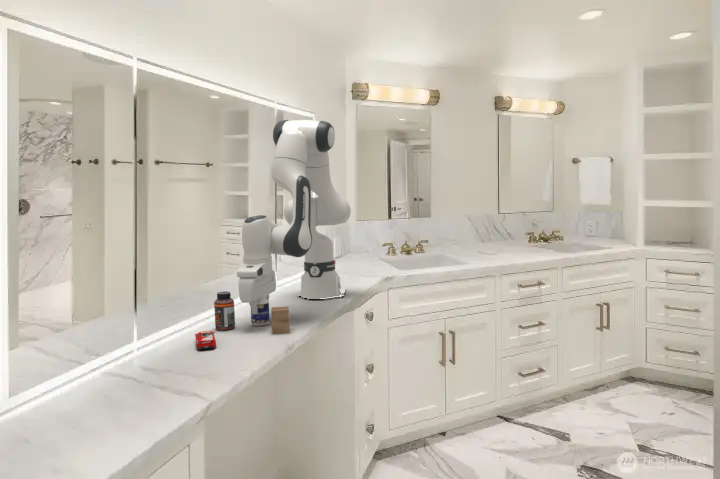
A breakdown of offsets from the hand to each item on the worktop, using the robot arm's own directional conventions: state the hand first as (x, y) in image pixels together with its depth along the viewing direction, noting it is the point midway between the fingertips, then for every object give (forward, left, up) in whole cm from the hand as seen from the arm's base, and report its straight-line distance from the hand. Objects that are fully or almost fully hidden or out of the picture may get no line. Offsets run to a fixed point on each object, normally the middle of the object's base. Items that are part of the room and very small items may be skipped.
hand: (260, 311), depth 170 cm
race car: (+24, -6, -5) cm, 25 cm away
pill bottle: (0, 0, -4) cm, 4 cm away
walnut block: (+8, +10, -4) cm, 13 cm away
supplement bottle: (+7, -9, -4) cm, 12 cm away
